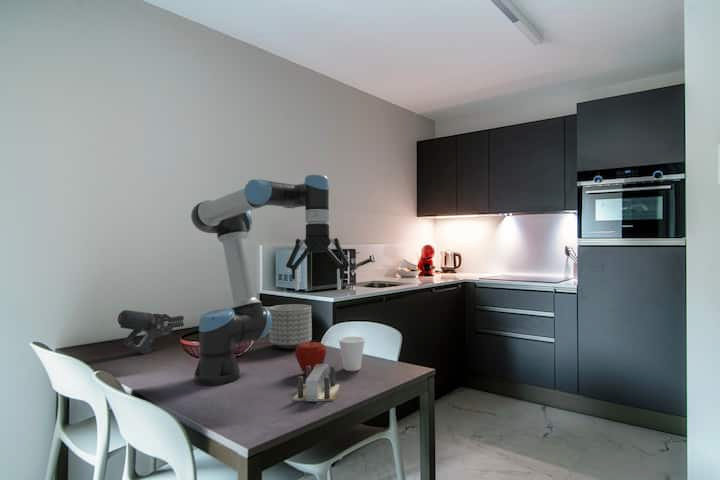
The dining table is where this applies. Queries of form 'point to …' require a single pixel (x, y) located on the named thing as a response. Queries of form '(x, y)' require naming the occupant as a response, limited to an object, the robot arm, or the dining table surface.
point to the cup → (352, 352)
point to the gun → (147, 328)
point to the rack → (329, 387)
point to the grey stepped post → (316, 382)
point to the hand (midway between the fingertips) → (318, 289)
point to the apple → (310, 354)
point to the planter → (290, 325)
